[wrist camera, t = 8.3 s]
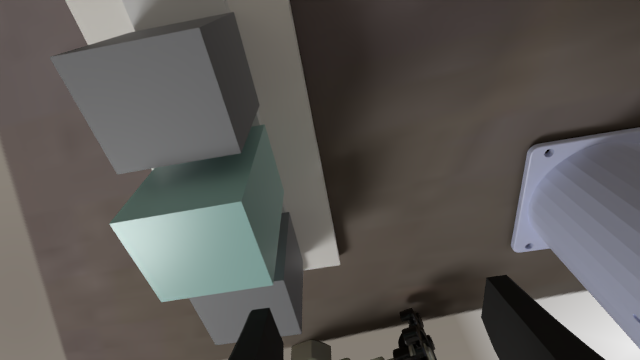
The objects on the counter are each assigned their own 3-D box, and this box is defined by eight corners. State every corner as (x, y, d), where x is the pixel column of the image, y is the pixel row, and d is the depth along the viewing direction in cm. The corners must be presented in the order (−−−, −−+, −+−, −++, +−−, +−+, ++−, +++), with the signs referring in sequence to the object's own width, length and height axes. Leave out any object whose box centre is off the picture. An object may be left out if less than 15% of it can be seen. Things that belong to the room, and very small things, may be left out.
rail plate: (276, -65, 13) (254, -95, 8) (339, 256, 23) (348, 342, 17) (67, -21, 14) (-86, -20, 8) (212, 274, 23) (183, 364, 18)
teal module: (264, 124, 16) (241, 201, 11) (284, 191, 18) (273, 285, 13) (176, 140, 16) (109, 223, 11) (205, 204, 18) (161, 302, 13)
